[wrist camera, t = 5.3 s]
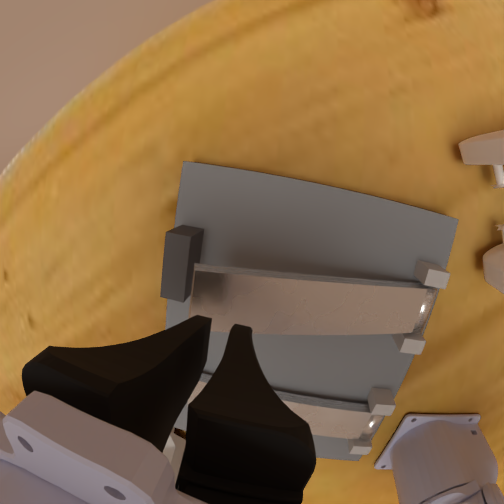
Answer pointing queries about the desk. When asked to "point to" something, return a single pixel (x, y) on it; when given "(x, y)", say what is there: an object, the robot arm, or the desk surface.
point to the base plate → (307, 262)
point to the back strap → (324, 414)
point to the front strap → (307, 302)
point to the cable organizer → (497, 154)
